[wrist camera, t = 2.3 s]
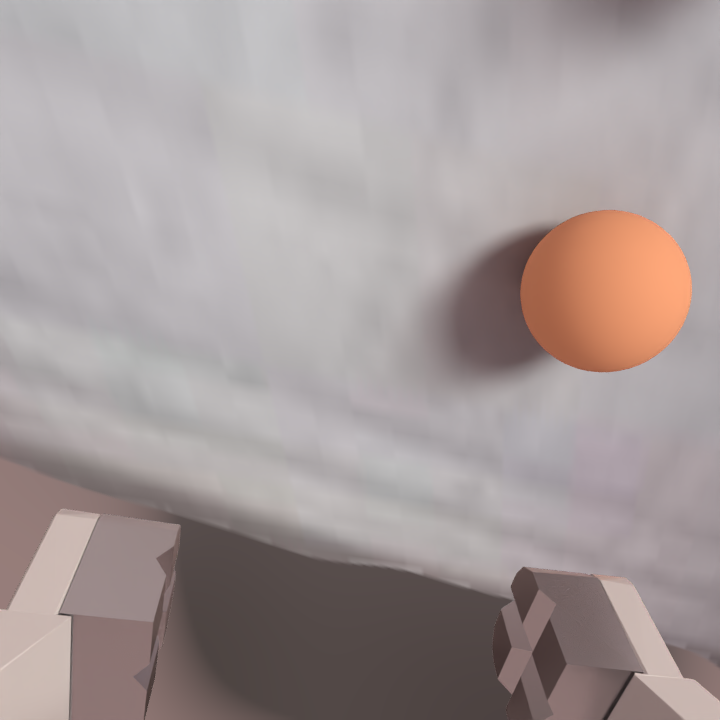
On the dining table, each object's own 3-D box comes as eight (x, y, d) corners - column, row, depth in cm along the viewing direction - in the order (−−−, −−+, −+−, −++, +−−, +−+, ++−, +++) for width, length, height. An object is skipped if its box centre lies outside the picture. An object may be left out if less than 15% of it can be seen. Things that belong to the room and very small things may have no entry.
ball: (672, 207, 25) (757, 259, 20) (615, 339, 27) (678, 413, 23) (531, 177, 24) (584, 224, 19) (485, 316, 27) (522, 388, 22)
